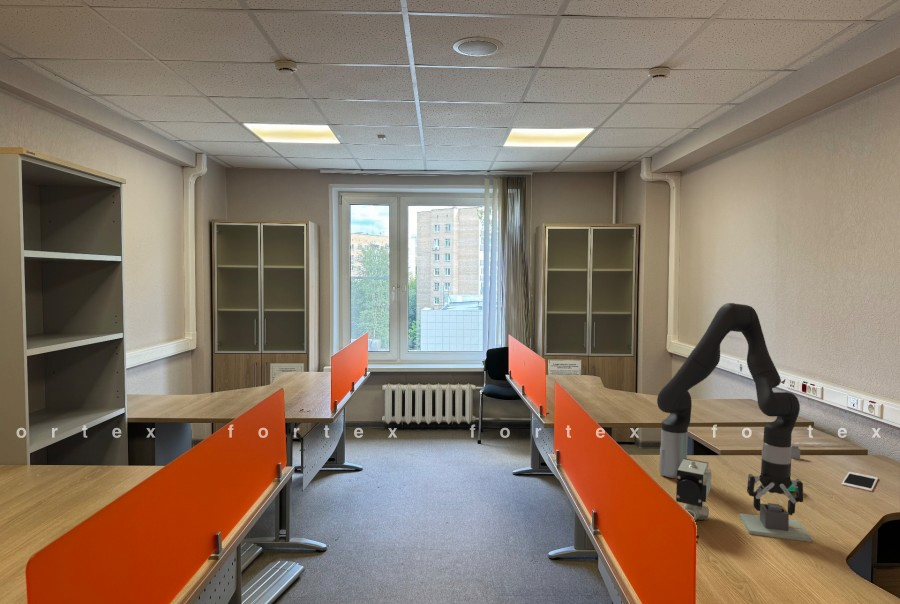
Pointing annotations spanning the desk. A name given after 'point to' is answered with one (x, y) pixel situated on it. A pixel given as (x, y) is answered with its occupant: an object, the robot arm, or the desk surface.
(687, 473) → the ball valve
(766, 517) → the grey open box
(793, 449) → the lighter
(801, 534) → the grey base with post
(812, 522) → the desk surface
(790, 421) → the robot arm
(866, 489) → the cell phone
